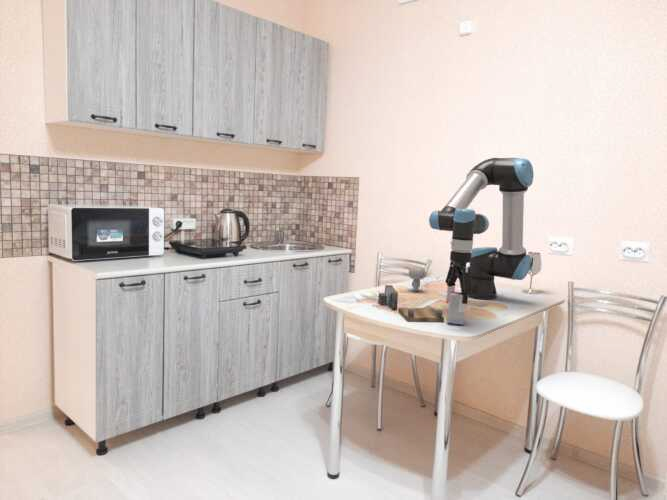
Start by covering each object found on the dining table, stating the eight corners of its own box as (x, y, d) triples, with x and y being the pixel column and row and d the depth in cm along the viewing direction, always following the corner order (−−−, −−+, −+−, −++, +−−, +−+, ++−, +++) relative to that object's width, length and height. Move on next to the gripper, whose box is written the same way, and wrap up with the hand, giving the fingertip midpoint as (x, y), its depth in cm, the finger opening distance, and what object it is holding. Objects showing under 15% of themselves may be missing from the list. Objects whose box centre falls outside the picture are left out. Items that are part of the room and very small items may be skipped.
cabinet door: (429, 309, 207) (430, 292, 206) (443, 322, 189) (445, 304, 188) (390, 308, 205) (392, 292, 204) (402, 321, 187) (403, 303, 186)
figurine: (409, 288, 246) (411, 264, 244) (425, 290, 243) (427, 266, 242) (406, 291, 239) (407, 266, 237) (421, 293, 236) (423, 268, 234)
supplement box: (463, 326, 185) (466, 295, 184) (447, 324, 187) (449, 294, 185) (462, 321, 191) (465, 292, 190) (446, 320, 192) (449, 290, 191)
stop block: (383, 302, 215) (384, 293, 215) (386, 305, 210) (387, 296, 210) (378, 302, 215) (378, 293, 214) (380, 305, 210) (381, 295, 210)
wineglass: (521, 292, 250) (525, 252, 247) (521, 289, 257) (526, 251, 254) (538, 294, 247) (542, 254, 244) (538, 291, 254) (542, 252, 252)
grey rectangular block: (397, 307, 206) (398, 292, 205) (389, 307, 206) (390, 292, 205) (391, 299, 220) (392, 285, 220) (384, 298, 220) (385, 285, 219)
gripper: (440, 246, 197) (435, 299, 200) (464, 255, 172) (458, 315, 175) (458, 247, 198) (453, 299, 200) (485, 256, 173) (479, 316, 176)
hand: (455, 307), depth 188 cm, fingers open, 13 cm apart
